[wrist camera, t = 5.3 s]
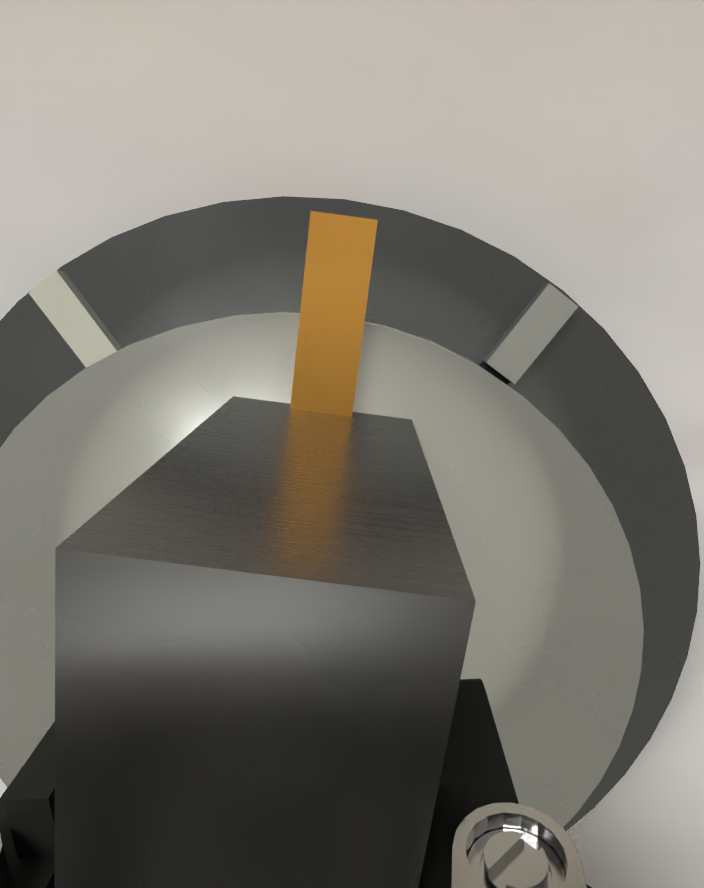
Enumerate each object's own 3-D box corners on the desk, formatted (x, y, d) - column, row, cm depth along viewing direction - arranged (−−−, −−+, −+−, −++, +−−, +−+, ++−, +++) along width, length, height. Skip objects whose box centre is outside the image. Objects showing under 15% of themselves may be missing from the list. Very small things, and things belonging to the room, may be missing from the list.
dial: (539, 895, 15) (713, 1500, 7) (0, 830, 14) (-371, 1385, 7) (706, 275, 11) (1396, 257, 4) (-18, 178, 11) (-824, -49, 3)
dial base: (805, 507, 14) (885, 547, 12) (377, 934, 18) (379, 1025, 16) (209, 29, 12) (175, -27, 10) (-143, 630, 16) (-226, 687, 14)
